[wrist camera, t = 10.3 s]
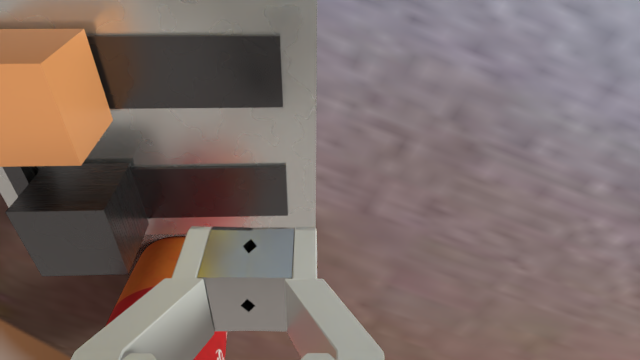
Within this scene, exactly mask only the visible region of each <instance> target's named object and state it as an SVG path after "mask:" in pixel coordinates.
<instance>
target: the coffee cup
mask: <svg viewBox="0 0 640 360" xmlns="http://www.w3.org/2000/svg"><path fill="white" fill-rule="evenodd" d="M184 240H185V237H181V236H178V237H168V238H164V239H160V240H158V241H156V242H154V243H152V244H150V245H149V246H148V247H147V248H146V249H145V250H144V252H143V253H142V255H141V256H140V258H139V260H138V262H137V263H136V265H135V267H134V269H133V271H132V273H131V275H130V277H129V279H128V281H127V283H126V285H125V287H124V289H123V291H122V293H121V295H120V297H119V299H118V301H117V303H116V305H115V307H114V309H113V311H112V313H111V315H110V317H109V320H108V322H107V324H106V326H107V325H108V324H109V323H110V322H112V321H113V320H114V319H115V318H117V317H118V316H119V315H120V314H121V313H123V312H124V311H125V310H126V309H128V308H129V307H130V306H131V305H133V304H134V303H135V302H136V301H137V300H139V299H140V298H141V297H142V296H144V295H145V294H146V293H147V292H149V291H150V290H151V289H152V288H154V287H155V286H156V285H157V284H158V283H160V282H161V281H162V280H163V279H165V278H172V275H173V272H174V269H175V266H176V263H177V260H178V258H179V255H180V252H181V249H182V246H183V243H184ZM226 339H227V331H214V335H213V336H212V337H211V339H210V340H209V341H208V342H207V343H206V345H205V346H204V347H203V348H202V350H201V351H200V352H199V353H198V355H197V356H196V357H195V358H194V359H193V360H225V351H226Z"/></svg>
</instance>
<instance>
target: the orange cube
mask: <svg viewBox="0 0 640 360" xmlns="http://www.w3.org/2000/svg"><path fill="white" fill-rule="evenodd" d="M112 121H113V118H112V115H111V112H110V109H109V106H108V102H107V99H106V96H105V93H104V90H103V87H102V84H101V80H100V77H99V74H98V71H97V68H96V65H95V61H94V58H93V55H92V52H91V49H90V46H89V42H88V39H87V36H86V33H85V30H84V29H0V167H17V166H81V165H82V164H83V162H84V161H85V159H86V158H87V157H88V155H89V154H90V152H91V151H92V149H93V148H94V147H95V145H96V144H97V142H98V141H99V139H100V138H101V137H102V135H103V134H104V132H105V131H106V130H107V128H108V127H109V125H110V124H111V122H112Z"/></svg>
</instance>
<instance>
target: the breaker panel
mask: <svg viewBox="0 0 640 360" xmlns="http://www.w3.org/2000/svg"><path fill="white" fill-rule="evenodd" d="M0 29H84V30H85V33H86V36H87V39H88V42H89V46H90V49H91V52H92V55H93V58H94V61H95V65H96V68H97V71H98V74H99V77H100V80H101V84H102V87H103V90H104V93H105V96H106V99H107V102H108V106H109V109H110V112H111V115H112V118H113V121H112V122H111V124H110V125H109V127H108V128H107V130H106V131H105V132H104V134H103V135H102V137H101V138H100V139H99V141H98V142H97V144H96V145H95V147H94V148H93V149H92V151H91V152H90V154H89V155H88V157H87V158H86V159H85V161H84V162H83V164H82V165H81V166H17V167H0V193H1V195H2V197H3V198H4V200H5V202H6V204H7V206H8V207H9V208H8V210H7V211H6V214H7V216H8V218H9V219H10V221H11V223H12V225H13V226H14V228H15V230H16V232H17V233H18V235H19V237H20V239H21V240H22V242H23V244H24V246H25V247H26V249H27V251H28V253H29V254H30V256H31V258H32V260H33V261H34V263H35V265H36V267H37V268H38V270H39V272H40V274H41V275H42V276H73V275H116V274H129V272H130V269H131V267H132V264H133V262H134V259H135V257H136V254H137V252H138V250H139V247H140V245H141V242H142V240H143V237H144V235H157V234H187V232H188V230H189V229H190V228H191V226H201V227H213V226H216V227H249V228H270V227H315V226H316V78H317V0H0Z"/></svg>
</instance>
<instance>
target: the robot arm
mask: <svg viewBox="0 0 640 360" xmlns="http://www.w3.org/2000/svg"><path fill="white" fill-rule="evenodd" d="M214 331H287V334H288V336H289V337H290V339H291V341H292V343H293V344H294V346H295V348H296V350H297V352H298V353H299V355H300V357H301V360H385V358H384V352H383V351H382V349H381V348H380V347H379V346H378V344H377V343H376V342H375V341H374V340H373V338H372V337H371V336H370V335H369V334H368V332H367V331H366V330H365V329H364V328H363V326H362V325H361V324H360V323H359V321H358V320H357V319H356V318H355V317H354V315H353V314H352V313H351V312H350V311H349V309H348V308H347V307H346V306H345V305H344V303H343V302H342V301H341V300H340V299H339V297H338V296H337V295H336V294H335V292H334V291H333V290H332V289H331V288H330V286H329V285H328V284H327V283H326V282H325V280H324V279H317V230H316V228H315V227H270V228H249V227H216V226H213V227H201V226H191V228H190V229H189V230H188V232H187V235H186V237H185V240H184V243H183V246H182V249H181V252H180V255H179V258H178V260H177V263H176V266H175V269H174V272H173V275H172V278H165V279H163V280H162V281H161V282H160V283H158V284H157V285H156V286H155V287H154V288H152V289H151V290H150V291H149V292H147V293H146V294H145V295H144V296H142V297H141V298H140V299H139V300H137V301H136V302H135V303H134V304H133V305H131V306H130V307H129V308H128V309H126V310H125V311H124V312H123V313H121V314H120V315H119V316H118V317H117V318H115V319H114V320H113V321H112V322H110V323H109V324H108V325H107V326H105V327H104V328H103V329H102V330H100V331H99V332H98V333H97V334H96V335H94V336H93V337H92V338H91V339H89V340H88V341H87V342H86V343H84V344H83V345H82V346H81V347H79V348H78V349H77V350H76V351H75V352H74V354H73V356H72V358H71V360H193V359H194V358H195V357H196V356H197V355H198V353H199V352H200V351H201V350H202V348H203V347H204V346H205V345H206V343H207V342H208V341H209V340H210V339H211V337H212V336H213V335H214Z"/></svg>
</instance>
